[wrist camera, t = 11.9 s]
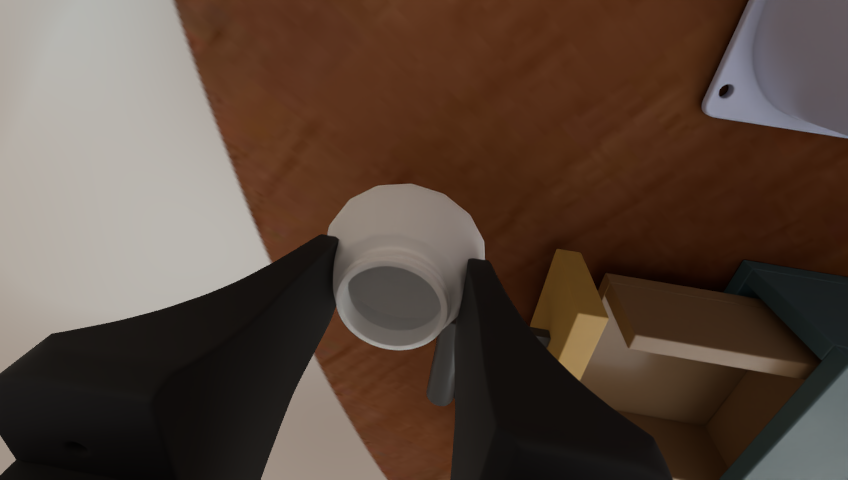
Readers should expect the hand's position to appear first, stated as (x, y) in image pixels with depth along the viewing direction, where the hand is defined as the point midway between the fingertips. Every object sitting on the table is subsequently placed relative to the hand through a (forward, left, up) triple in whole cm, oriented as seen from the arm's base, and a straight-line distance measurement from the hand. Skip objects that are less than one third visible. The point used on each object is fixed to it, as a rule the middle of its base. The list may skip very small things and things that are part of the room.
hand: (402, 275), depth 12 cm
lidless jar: (0, 0, -2) cm, 2 cm away
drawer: (+7, +10, -7) cm, 14 cm away
